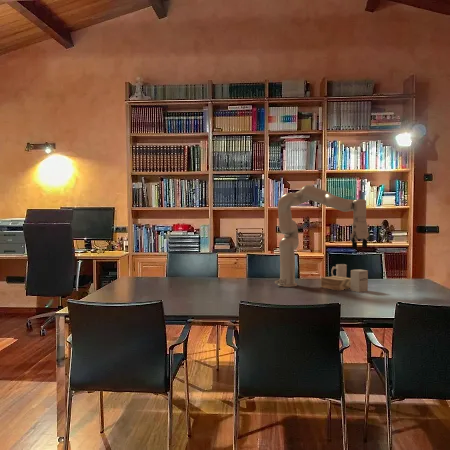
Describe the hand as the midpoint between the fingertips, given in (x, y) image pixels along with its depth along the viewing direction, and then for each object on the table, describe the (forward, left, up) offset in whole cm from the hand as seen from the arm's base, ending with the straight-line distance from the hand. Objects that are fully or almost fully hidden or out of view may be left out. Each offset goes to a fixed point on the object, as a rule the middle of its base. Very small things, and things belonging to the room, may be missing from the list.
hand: (359, 248), depth 276 cm
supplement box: (0, 0, -26) cm, 26 cm away
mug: (+13, +26, -26) cm, 39 cm away
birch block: (-2, +15, -26) cm, 30 cm away
